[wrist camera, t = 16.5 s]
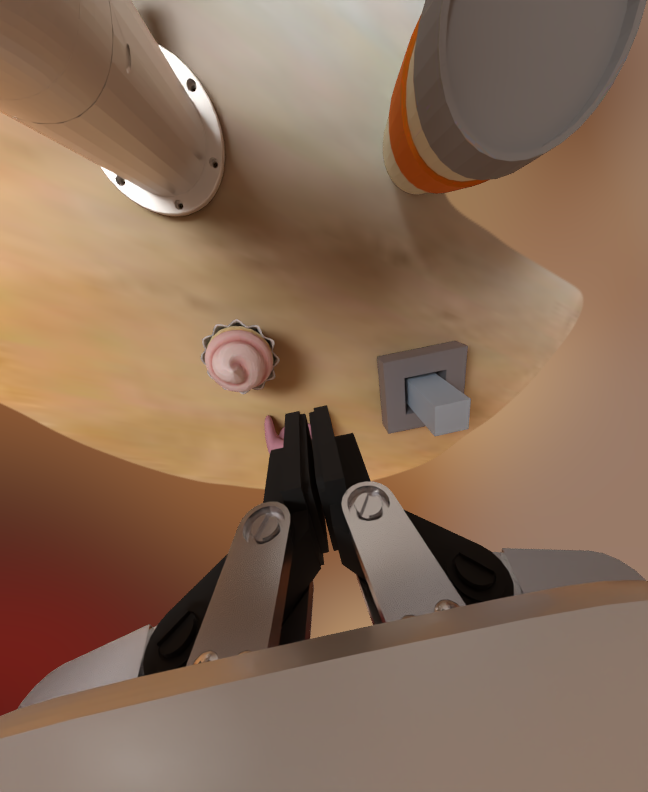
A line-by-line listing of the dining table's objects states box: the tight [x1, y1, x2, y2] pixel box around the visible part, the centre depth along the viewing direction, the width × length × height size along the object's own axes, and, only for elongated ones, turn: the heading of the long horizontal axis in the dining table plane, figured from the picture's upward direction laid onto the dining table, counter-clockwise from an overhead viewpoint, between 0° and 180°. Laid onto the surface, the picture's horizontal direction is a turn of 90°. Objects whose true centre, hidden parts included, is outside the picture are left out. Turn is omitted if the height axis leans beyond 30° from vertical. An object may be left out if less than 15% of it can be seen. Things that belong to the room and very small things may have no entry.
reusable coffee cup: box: [383, 0, 647, 194], centre depth 21 cm, size 13×13×15 cm
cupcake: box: [201, 319, 280, 394], centre depth 31 cm, size 9×9×10 cm
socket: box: [377, 341, 468, 434], centre depth 39 cm, size 12×12×3 cm
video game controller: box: [265, 415, 312, 453], centre depth 39 cm, size 10×5×7 cm, turn 96°
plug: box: [404, 372, 471, 436], centre depth 36 cm, size 4×4×10 cm
